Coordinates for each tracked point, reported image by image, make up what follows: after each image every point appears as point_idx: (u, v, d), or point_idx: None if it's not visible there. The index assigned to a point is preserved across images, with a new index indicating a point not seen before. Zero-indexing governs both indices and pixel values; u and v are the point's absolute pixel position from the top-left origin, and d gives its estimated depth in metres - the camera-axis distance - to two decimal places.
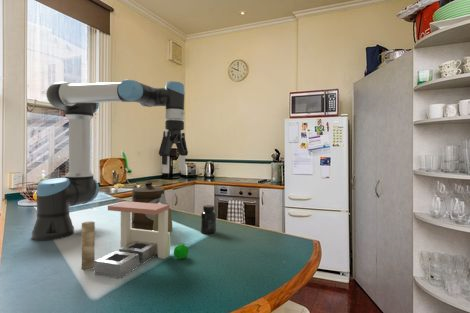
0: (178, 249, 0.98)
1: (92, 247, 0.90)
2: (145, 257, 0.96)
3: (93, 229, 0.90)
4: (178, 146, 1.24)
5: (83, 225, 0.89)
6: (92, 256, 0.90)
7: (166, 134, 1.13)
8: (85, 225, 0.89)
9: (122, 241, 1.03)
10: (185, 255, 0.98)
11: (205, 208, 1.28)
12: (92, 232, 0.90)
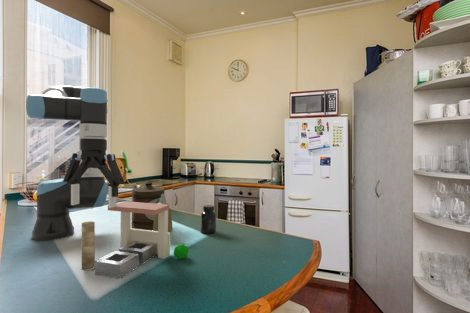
0: (178, 249, 0.98)
1: (92, 247, 0.90)
2: (145, 257, 0.96)
3: (93, 229, 0.90)
4: None
5: (83, 225, 0.89)
6: (92, 256, 0.90)
7: None
8: (85, 225, 0.88)
9: (122, 241, 1.03)
10: (185, 255, 0.98)
11: (205, 208, 1.28)
12: (92, 232, 0.90)
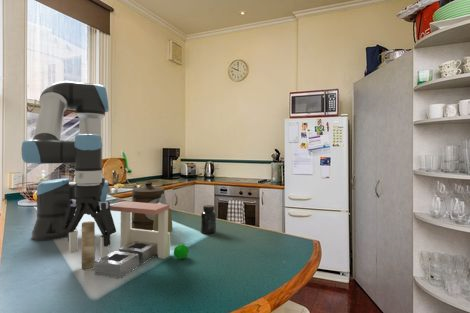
0: (178, 249, 0.98)
1: (92, 247, 0.90)
2: (145, 257, 0.96)
3: (93, 229, 0.90)
4: None
5: (83, 225, 0.89)
6: (92, 256, 0.90)
7: None
8: (85, 225, 0.89)
9: (122, 241, 1.03)
10: (185, 255, 0.98)
11: (205, 208, 1.28)
12: (92, 232, 0.90)
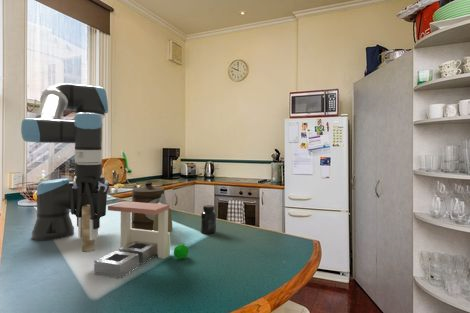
0: (178, 249, 0.98)
1: None
2: (145, 257, 0.96)
3: None
4: None
5: (83, 208, 0.89)
6: None
7: None
8: (85, 208, 0.89)
9: (122, 241, 1.03)
10: (185, 255, 0.98)
11: (205, 208, 1.28)
12: None
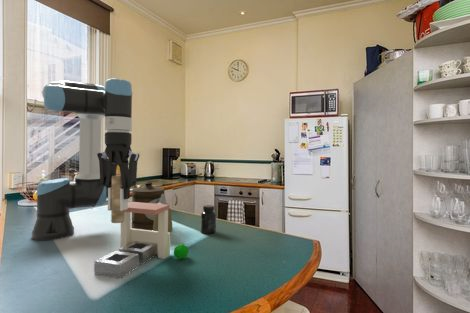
0: (178, 249, 0.98)
1: None
2: (145, 257, 0.96)
3: None
4: None
5: (113, 177, 0.86)
6: None
7: None
8: (115, 177, 0.86)
9: (122, 241, 1.03)
10: (185, 255, 0.98)
11: (205, 208, 1.28)
12: None
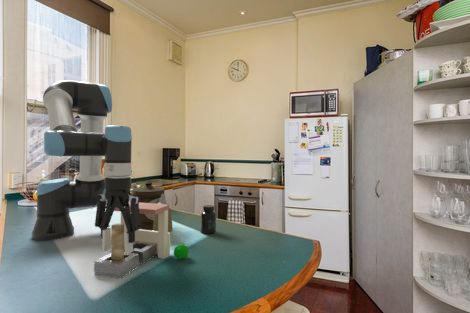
0: (178, 249, 0.98)
1: (121, 249, 0.88)
2: (145, 257, 0.96)
3: (123, 231, 0.88)
4: None
5: (113, 227, 0.87)
6: (122, 259, 0.88)
7: None
8: (115, 227, 0.87)
9: None
10: (185, 255, 0.98)
11: (205, 208, 1.28)
12: (122, 235, 0.88)
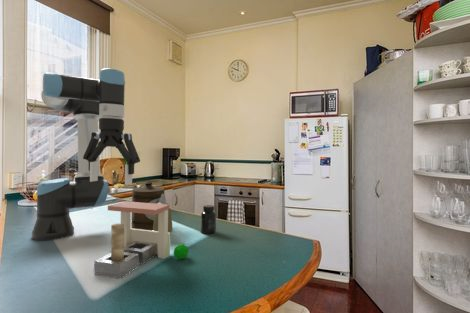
0: (178, 249, 0.98)
1: (121, 249, 0.88)
2: (145, 257, 0.96)
3: (123, 231, 0.88)
4: None
5: (113, 227, 0.87)
6: (122, 259, 0.88)
7: None
8: (115, 227, 0.87)
9: None
10: (185, 255, 0.98)
11: (205, 208, 1.28)
12: (122, 234, 0.88)
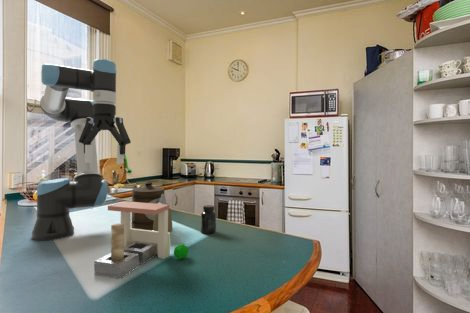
0: (178, 249, 0.98)
1: (121, 249, 0.88)
2: (145, 257, 0.96)
3: (123, 231, 0.88)
4: None
5: (113, 227, 0.87)
6: (122, 259, 0.88)
7: None
8: (115, 227, 0.87)
9: None
10: (185, 255, 0.98)
11: (205, 208, 1.28)
12: (122, 234, 0.88)
